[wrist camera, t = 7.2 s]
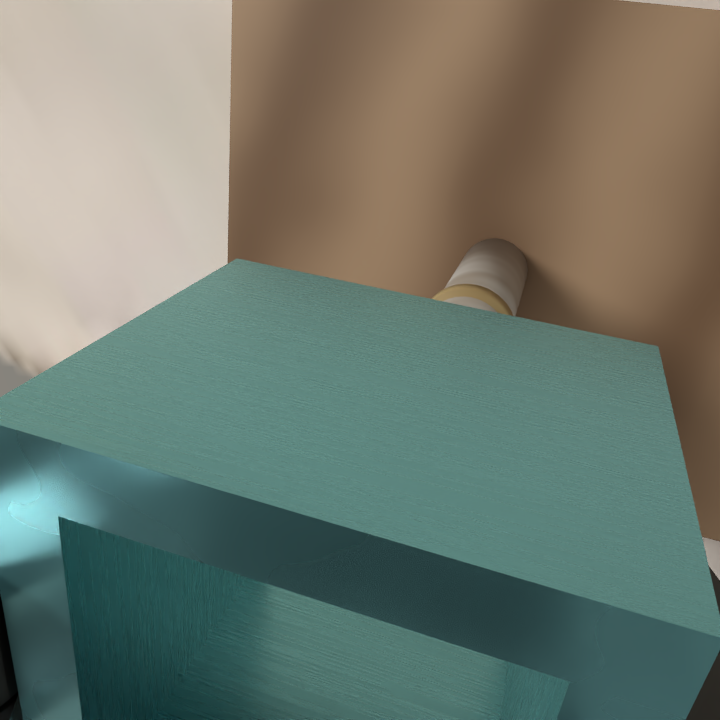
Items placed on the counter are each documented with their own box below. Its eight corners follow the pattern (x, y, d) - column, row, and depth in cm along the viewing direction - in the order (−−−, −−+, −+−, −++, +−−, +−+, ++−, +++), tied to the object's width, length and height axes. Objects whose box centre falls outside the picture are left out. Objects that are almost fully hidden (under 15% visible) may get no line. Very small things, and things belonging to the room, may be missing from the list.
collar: (658, 346, 9) (724, 639, 4) (551, 664, 11) (526, 1043, 7) (236, 258, 10) (-32, 416, 6) (229, 562, 13) (42, 827, 8)
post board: (914, 35, 17) (1188, 21, 9) (714, 506, 24) (774, 730, 16) (262, -31, 21) (68, -80, 13) (248, 387, 28) (113, 518, 20)
